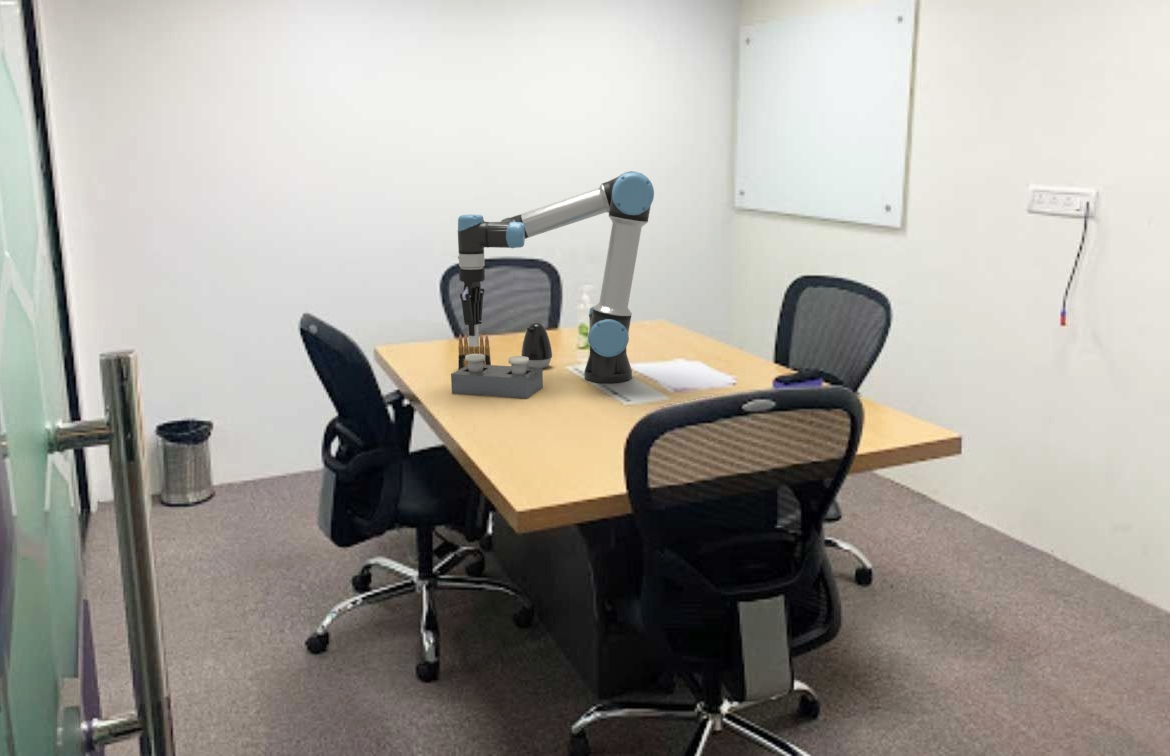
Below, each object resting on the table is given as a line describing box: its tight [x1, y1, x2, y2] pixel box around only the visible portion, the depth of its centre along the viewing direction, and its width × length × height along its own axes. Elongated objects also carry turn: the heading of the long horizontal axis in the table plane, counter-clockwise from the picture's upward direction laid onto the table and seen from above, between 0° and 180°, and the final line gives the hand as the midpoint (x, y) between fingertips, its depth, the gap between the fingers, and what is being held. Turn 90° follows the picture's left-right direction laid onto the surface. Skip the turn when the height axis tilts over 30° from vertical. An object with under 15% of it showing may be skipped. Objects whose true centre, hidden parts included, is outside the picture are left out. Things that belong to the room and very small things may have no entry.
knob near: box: [508, 355, 529, 375], centre depth 280 cm, size 6×6×7 cm
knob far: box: [465, 353, 485, 372], centre depth 284 cm, size 6×6×7 cm
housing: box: [450, 364, 544, 399], centre depth 283 cm, size 24×14×6 cm, turn 73°
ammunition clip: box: [457, 333, 492, 370], centre depth 310 cm, size 11×2×12 cm, turn 85°
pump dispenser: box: [521, 322, 553, 369], centre depth 311 cm, size 10×10×15 cm
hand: (473, 345), depth 283 cm, fingers closed
